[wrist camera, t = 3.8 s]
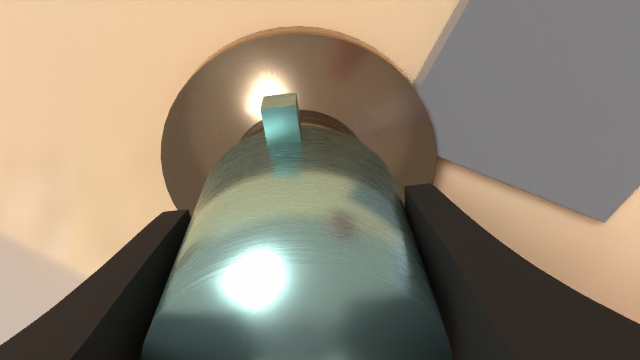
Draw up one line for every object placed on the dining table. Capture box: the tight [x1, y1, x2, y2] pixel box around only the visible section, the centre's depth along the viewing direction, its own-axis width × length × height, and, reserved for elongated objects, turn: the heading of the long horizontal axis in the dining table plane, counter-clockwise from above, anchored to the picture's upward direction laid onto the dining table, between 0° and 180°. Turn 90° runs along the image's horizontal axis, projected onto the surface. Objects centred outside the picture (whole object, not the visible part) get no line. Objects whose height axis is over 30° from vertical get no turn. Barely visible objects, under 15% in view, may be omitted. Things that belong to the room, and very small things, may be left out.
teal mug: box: [141, 92, 452, 360], centre depth 9 cm, size 7×5×4 cm
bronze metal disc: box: [161, 26, 437, 218], centre depth 13 cm, size 8×8×2 cm
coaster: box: [413, 0, 640, 223], centre depth 12 cm, size 8×8×1 cm
